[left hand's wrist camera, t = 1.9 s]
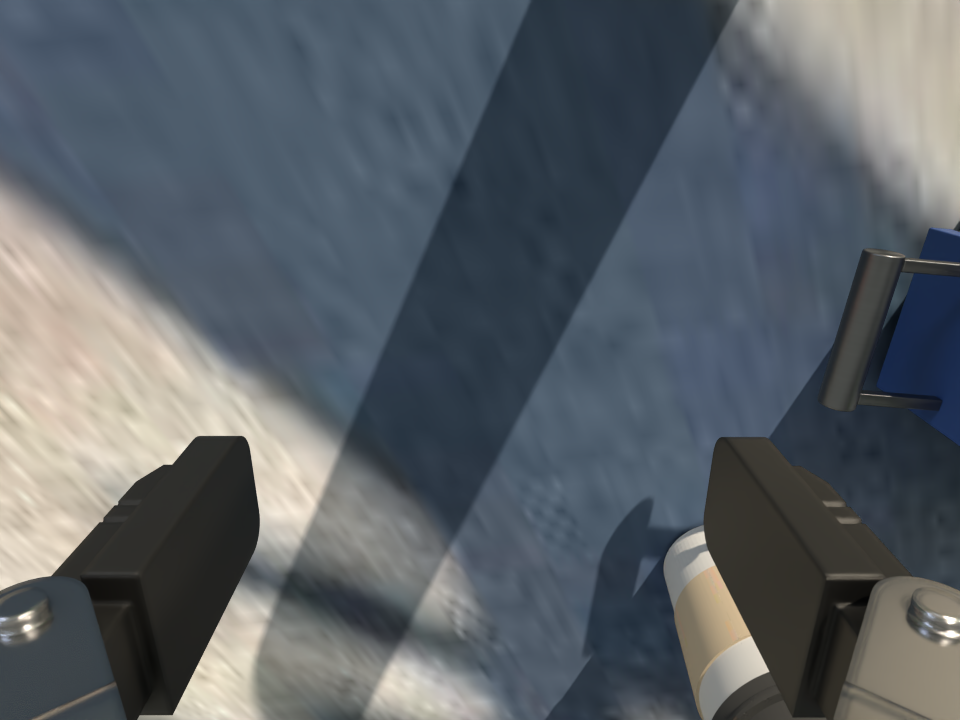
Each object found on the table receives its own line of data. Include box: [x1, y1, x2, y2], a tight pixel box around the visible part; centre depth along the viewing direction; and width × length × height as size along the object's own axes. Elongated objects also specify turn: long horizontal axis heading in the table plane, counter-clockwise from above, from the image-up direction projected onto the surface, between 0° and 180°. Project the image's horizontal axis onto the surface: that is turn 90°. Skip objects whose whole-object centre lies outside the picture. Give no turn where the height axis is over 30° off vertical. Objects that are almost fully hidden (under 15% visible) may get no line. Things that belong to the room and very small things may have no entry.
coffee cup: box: [664, 525, 827, 720], centre depth 37 cm, size 9×9×15 cm
